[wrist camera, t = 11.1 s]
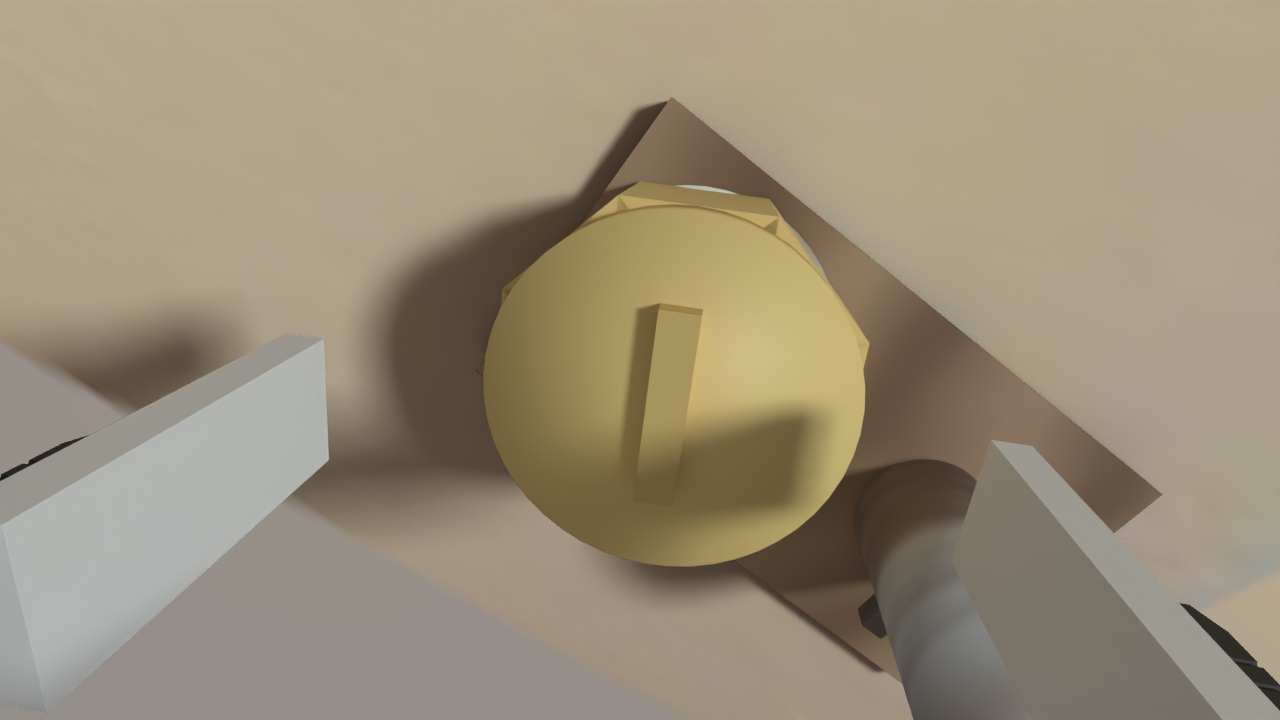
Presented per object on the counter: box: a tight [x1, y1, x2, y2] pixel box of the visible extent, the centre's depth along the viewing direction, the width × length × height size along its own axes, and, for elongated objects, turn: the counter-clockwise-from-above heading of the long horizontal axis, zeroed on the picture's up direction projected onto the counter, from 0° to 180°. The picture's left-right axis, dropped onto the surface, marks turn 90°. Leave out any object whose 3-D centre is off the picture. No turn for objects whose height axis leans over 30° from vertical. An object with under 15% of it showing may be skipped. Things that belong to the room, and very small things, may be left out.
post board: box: [476, 97, 1162, 720], centre depth 20 cm, size 20×11×9 cm, turn 53°
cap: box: [483, 181, 870, 567], centre depth 19 cm, size 9×9×6 cm
